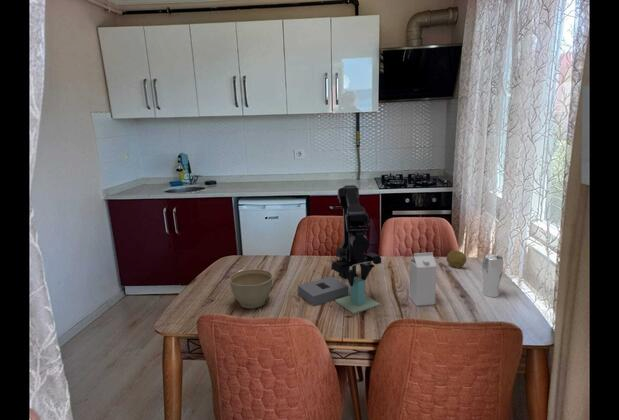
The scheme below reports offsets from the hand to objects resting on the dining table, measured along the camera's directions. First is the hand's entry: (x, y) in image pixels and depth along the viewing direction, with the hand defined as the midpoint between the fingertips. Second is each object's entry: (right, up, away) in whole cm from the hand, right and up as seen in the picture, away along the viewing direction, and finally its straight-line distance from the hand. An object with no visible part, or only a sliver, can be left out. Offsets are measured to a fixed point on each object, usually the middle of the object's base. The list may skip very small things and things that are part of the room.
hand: (357, 284), depth 137 cm
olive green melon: (+50, +1, +33) cm, 60 cm away
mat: (0, -7, +2) cm, 8 cm away
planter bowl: (-39, -8, +5) cm, 40 cm away
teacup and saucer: (-50, -4, +31) cm, 59 cm away
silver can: (+52, -5, +5) cm, 53 cm away
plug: (0, -7, +1) cm, 7 cm away
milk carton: (+24, -7, +1) cm, 25 cm away
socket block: (-12, -6, +9) cm, 17 cm away
